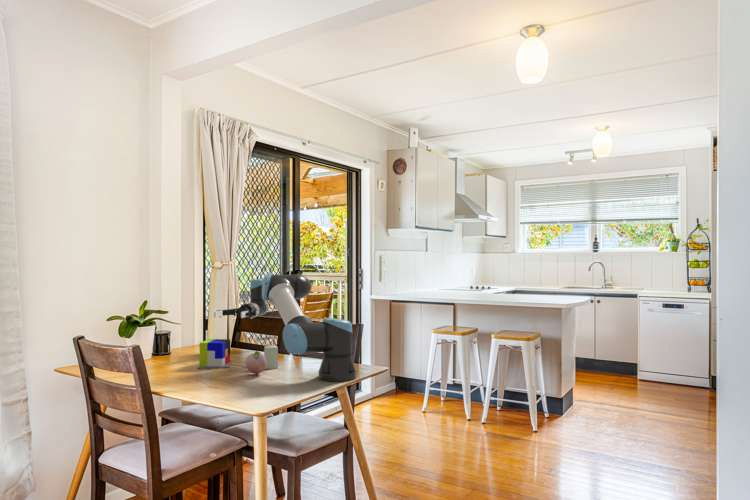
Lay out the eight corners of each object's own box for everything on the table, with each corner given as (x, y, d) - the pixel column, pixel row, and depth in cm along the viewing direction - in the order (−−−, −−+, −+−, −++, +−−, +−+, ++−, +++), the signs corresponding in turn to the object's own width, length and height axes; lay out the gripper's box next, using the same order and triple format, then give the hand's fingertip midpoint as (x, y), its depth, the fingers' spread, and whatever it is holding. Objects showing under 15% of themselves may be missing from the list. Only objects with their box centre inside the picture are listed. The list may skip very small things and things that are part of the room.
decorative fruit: (244, 373, 210) (244, 348, 210) (265, 371, 212) (265, 347, 212) (246, 378, 201) (246, 352, 201) (267, 376, 203) (267, 351, 203)
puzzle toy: (222, 366, 219) (222, 343, 219) (199, 366, 220) (199, 342, 220) (230, 361, 229) (230, 339, 229) (208, 361, 230) (208, 339, 230)
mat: (229, 367, 219) (229, 366, 219) (197, 369, 217) (197, 367, 217) (231, 361, 232) (231, 360, 232) (201, 362, 229) (201, 361, 229)
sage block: (277, 368, 219) (277, 347, 219) (266, 369, 217) (266, 348, 217) (275, 365, 223) (275, 345, 224) (264, 366, 222) (264, 346, 222)
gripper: (272, 318, 254) (252, 323, 234) (226, 317, 260) (203, 322, 239) (272, 303, 254) (252, 306, 234) (226, 303, 260) (203, 306, 239)
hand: (228, 314), depth 236 cm, fingers open, 13 cm apart
